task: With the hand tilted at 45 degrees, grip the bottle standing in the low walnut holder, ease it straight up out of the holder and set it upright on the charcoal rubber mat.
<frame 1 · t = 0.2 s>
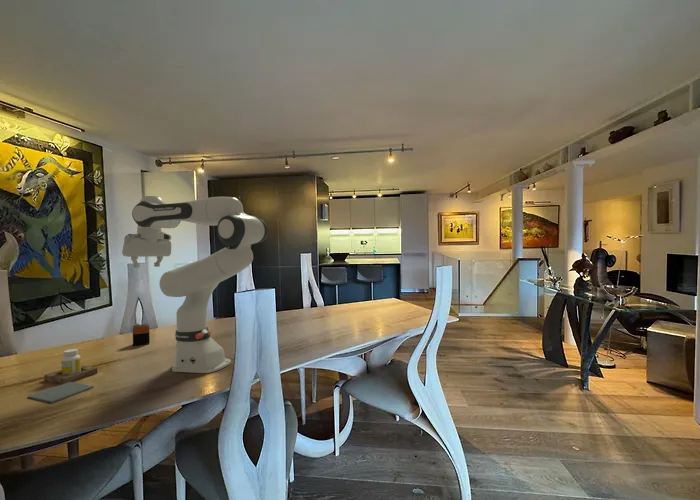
hand: (146, 267, 144), 39 cm above the table, tool pointing down, fingers open, 8 cm apart
charcoal mat: (61, 392, 111), on the table
supplement bottle: (71, 377, 124), resting in walnut holder
walnut holder: (71, 376, 124), on the table
battery: (141, 344, 166), on the table
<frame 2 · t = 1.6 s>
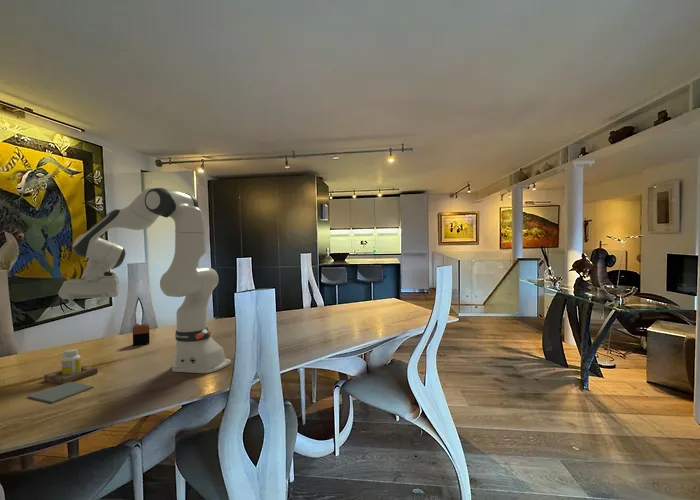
hand: (84, 305, 136), 24 cm above the table, tool tilted 45°, fingers open, 8 cm apart
nothing on the table moved.
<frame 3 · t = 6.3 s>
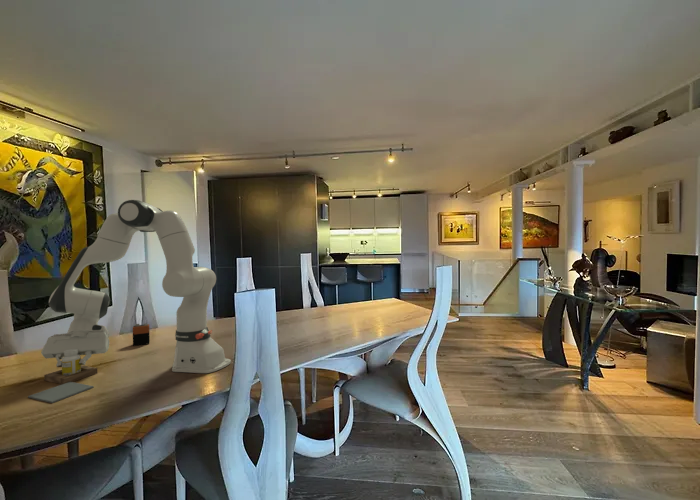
hand: (70, 365, 124), 4 cm above the table, tool tilted 45°, fingers closed on supplement bottle, 5 cm apart
supplement bottle: (71, 377, 124), resting in walnut holder, touching gripper
everything else where it was.
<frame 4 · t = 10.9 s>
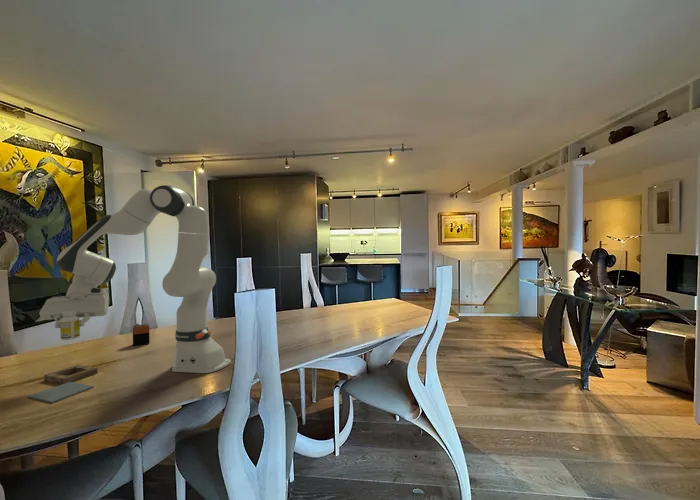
hand: (69, 326, 122), 19 cm above the table, tool tilted 45°, fingers closed on supplement bottle, 5 cm apart
supplement bottle: (70, 338, 123), point 14 cm above the table, touching gripper
everything else where it was.
when the fingers open (6 cm above the table, at t = 15.7 s): supplement bottle drops 1 cm, resting on charcoal mat.
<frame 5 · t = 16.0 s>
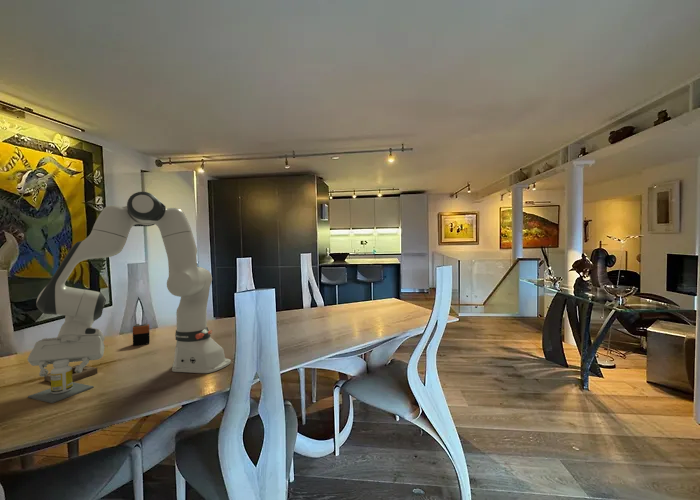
hand: (60, 373, 110), 6 cm above the table, tool tilted 45°, fingers open, 8 cm apart
supplement bottle: (61, 391, 111), resting on charcoal mat
everything else where it was.
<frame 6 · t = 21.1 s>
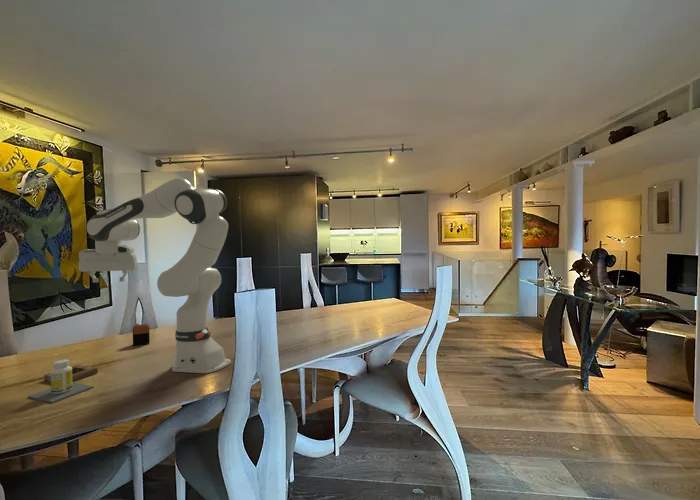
hand: (109, 281, 141), 33 cm above the table, tool pointing down, fingers open, 8 cm apart
nothing on the table moved.
at the end: supplement bottle inside the target area on the charcoal mat (0.1 cm from its centre), point 0.3 cm above the charcoal mat's base; supplement bottle tilted 0°; the gripper is holding nothing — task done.
